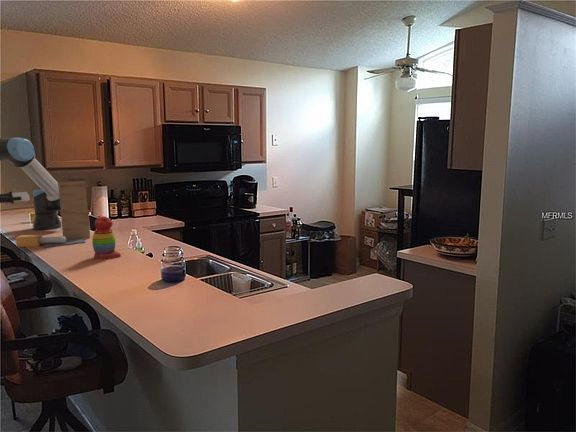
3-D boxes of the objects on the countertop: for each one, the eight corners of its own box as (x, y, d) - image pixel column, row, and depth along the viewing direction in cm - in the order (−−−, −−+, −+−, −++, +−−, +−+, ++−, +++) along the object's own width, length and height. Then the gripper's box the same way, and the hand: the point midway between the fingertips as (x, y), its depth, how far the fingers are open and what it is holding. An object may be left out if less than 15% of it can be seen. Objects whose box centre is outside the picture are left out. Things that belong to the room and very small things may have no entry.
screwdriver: (62, 235, 230) (63, 245, 231) (66, 234, 235) (67, 243, 236) (15, 237, 229) (17, 246, 230) (20, 235, 234) (21, 244, 235)
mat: (43, 243, 235) (43, 242, 235) (82, 239, 245) (82, 238, 245) (45, 247, 227) (44, 246, 227) (85, 242, 236) (85, 241, 236)
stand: (63, 238, 248) (57, 178, 243) (87, 235, 254) (82, 177, 250) (65, 241, 241) (59, 179, 237) (90, 238, 248) (85, 178, 243)
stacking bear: (122, 256, 206) (119, 216, 203) (98, 260, 199) (95, 219, 196) (112, 252, 214) (109, 213, 211) (89, 256, 207) (86, 216, 204)
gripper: (-23, 205, 227) (27, 201, 238) (-24, 211, 206) (31, 206, 217) (-25, 189, 226) (26, 186, 237) (-27, 194, 205) (29, 190, 216)
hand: (28, 196), depth 227 cm, fingers open, 13 cm apart
